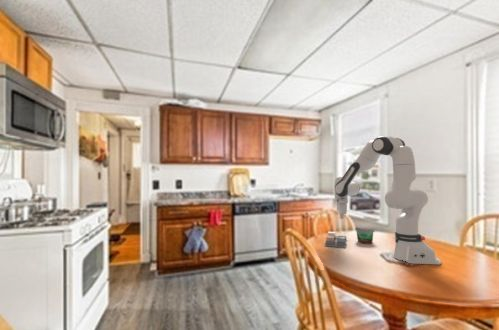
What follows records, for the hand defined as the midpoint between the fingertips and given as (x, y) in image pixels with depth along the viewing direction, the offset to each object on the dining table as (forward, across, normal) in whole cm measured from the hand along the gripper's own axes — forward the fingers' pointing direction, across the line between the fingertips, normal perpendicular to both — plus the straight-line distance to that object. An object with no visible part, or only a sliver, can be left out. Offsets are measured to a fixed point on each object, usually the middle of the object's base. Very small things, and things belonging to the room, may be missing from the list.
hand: (341, 218), depth 193 cm
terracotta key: (+13, +12, -9) cm, 20 cm away
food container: (+16, +5, +15) cm, 22 cm away
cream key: (+13, -1, -7) cm, 15 cm away
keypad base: (+15, +6, -5) cm, 17 cm away
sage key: (+14, 0, 0) cm, 14 cm away
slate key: (+13, +14, -2) cm, 19 cm away
